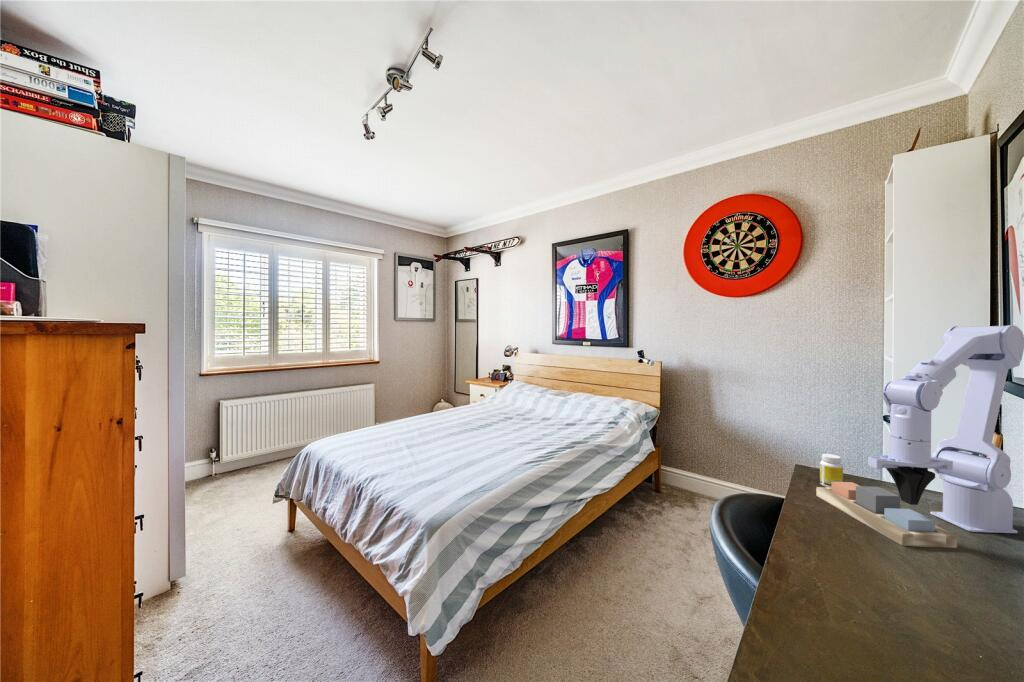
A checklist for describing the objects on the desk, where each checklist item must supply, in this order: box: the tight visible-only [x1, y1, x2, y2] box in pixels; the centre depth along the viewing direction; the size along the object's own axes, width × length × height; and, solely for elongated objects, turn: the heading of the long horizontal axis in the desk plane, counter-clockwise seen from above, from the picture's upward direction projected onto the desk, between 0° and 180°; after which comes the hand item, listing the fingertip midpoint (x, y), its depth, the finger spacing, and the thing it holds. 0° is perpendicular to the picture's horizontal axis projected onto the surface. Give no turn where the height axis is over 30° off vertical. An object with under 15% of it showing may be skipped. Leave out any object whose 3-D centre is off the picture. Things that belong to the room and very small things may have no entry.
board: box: [815, 486, 958, 549], centre depth 82 cm, size 10×22×2 cm, turn 176°
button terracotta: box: [831, 481, 860, 500], centre depth 89 cm, size 5×5×4 cm
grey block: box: [856, 485, 901, 514], centre depth 82 cm, size 5×5×4 cm
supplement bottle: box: [819, 453, 844, 487], centre depth 99 cm, size 5×5×8 cm
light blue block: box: [884, 508, 936, 532], centre depth 75 cm, size 5×5×4 cm
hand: (909, 502), depth 75 cm, fingers closed
